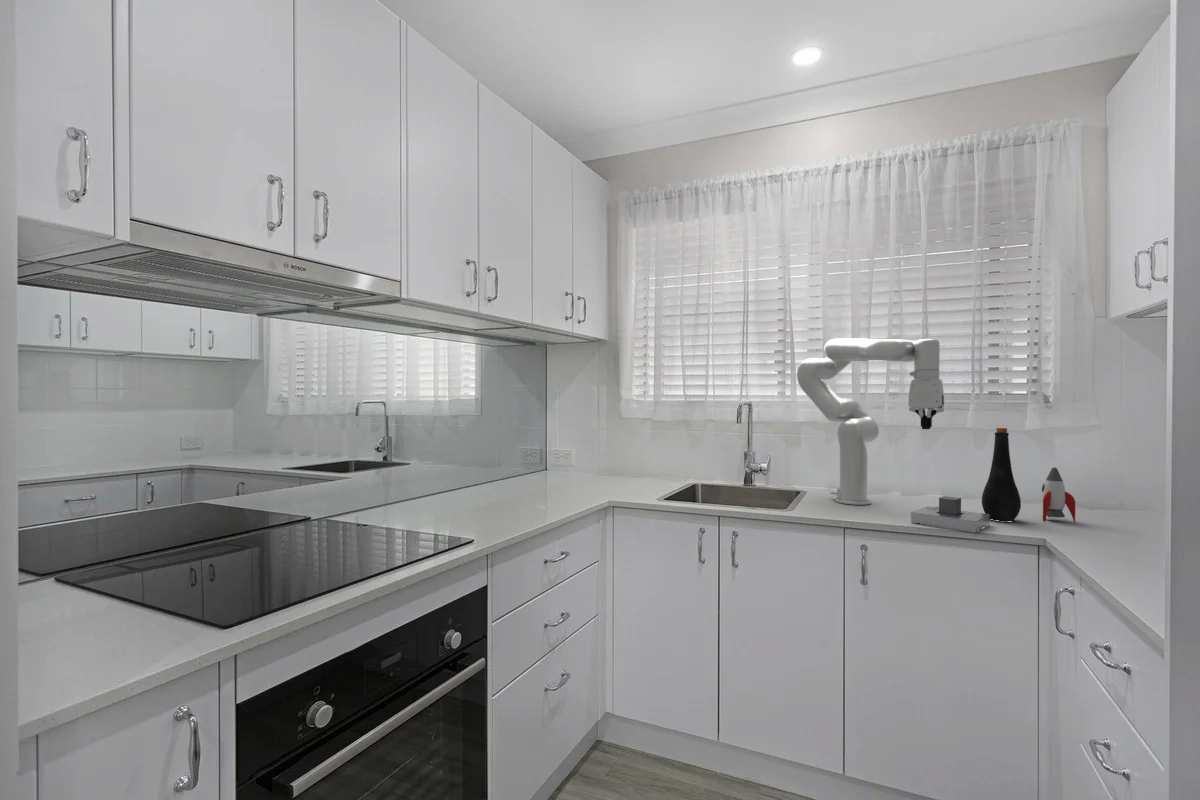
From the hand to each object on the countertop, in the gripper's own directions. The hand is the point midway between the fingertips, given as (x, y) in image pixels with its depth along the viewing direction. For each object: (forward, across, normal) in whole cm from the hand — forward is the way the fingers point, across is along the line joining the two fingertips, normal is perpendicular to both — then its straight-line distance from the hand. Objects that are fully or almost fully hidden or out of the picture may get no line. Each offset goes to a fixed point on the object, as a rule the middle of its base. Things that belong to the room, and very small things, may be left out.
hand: (926, 429), depth 201 cm
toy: (+29, +33, +19) cm, 48 cm away
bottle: (+29, +20, +8) cm, 36 cm away
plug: (+29, +11, -10) cm, 32 cm away
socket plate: (+29, +11, -11) cm, 33 cm away
